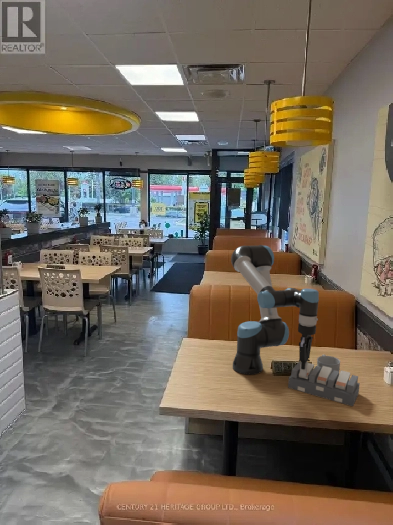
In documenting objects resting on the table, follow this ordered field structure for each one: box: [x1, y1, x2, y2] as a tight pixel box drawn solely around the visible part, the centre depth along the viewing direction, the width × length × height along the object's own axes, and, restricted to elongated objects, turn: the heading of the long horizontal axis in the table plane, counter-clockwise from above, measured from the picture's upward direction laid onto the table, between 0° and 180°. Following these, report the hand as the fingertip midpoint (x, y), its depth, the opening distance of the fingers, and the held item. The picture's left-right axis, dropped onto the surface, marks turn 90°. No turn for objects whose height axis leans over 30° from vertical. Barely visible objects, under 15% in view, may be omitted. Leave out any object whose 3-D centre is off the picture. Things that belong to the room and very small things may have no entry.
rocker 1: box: [299, 362, 315, 379], centre depth 175 cm, size 4×10×2 cm, turn 148°
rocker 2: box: [317, 366, 332, 385], centre depth 171 cm, size 4×10×2 cm, turn 148°
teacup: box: [316, 354, 341, 375], centre depth 190 cm, size 14×11×8 cm
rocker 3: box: [335, 370, 351, 390], centre depth 167 cm, size 4×10×2 cm, turn 148°
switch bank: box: [287, 361, 360, 407], centre depth 172 cm, size 28×13×8 cm, turn 58°
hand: (303, 375), depth 171 cm, fingers closed
